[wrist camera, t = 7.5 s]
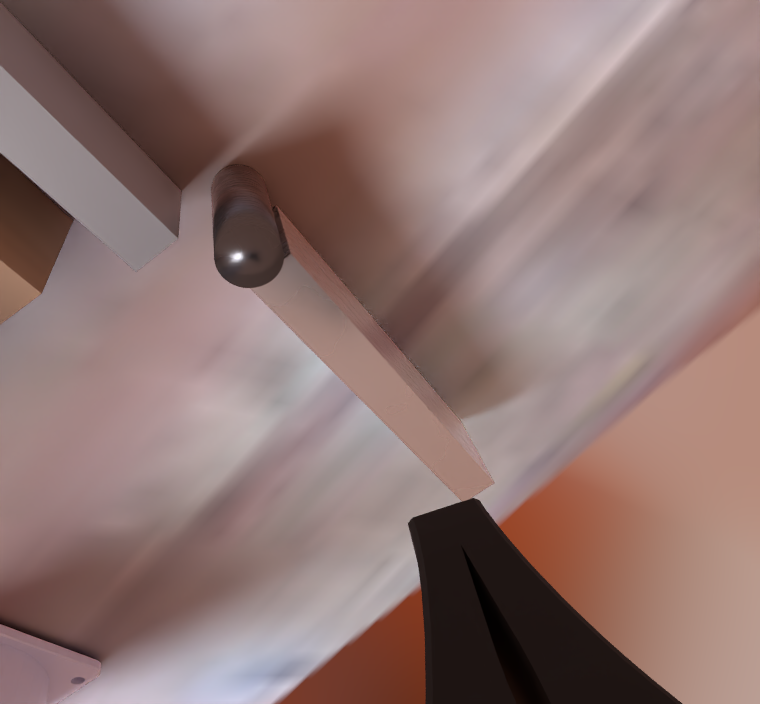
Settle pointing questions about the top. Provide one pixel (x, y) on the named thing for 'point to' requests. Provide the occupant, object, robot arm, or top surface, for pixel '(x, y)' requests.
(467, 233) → the top surface
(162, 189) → the cradle
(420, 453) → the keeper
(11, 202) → the link block
